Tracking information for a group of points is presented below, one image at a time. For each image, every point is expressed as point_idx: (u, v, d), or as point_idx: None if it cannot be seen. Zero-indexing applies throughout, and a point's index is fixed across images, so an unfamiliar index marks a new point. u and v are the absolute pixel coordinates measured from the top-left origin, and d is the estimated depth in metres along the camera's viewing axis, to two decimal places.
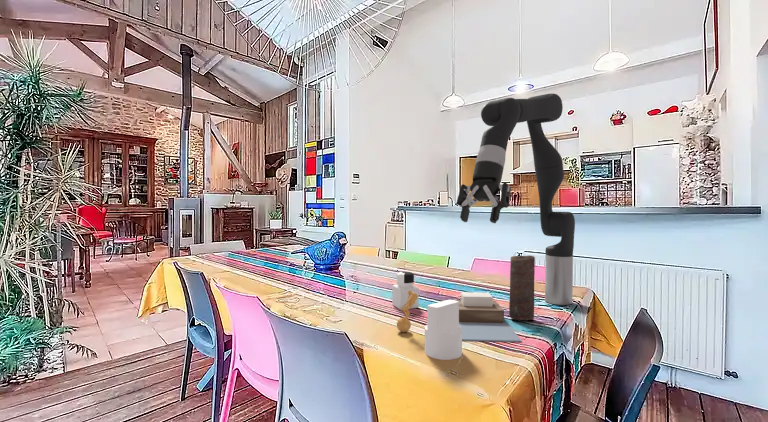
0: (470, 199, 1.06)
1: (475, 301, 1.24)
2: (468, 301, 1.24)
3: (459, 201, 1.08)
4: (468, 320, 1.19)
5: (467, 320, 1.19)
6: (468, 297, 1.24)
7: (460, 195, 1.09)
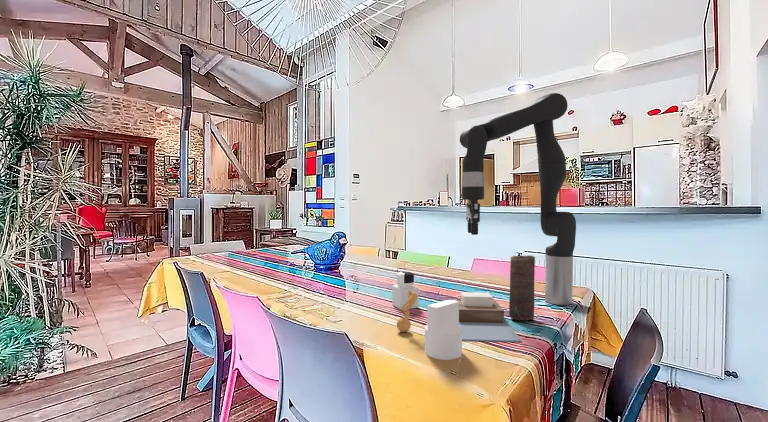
0: (468, 216, 1.38)
1: (475, 301, 1.24)
2: (468, 301, 1.24)
3: (466, 217, 1.41)
4: (468, 320, 1.19)
5: (467, 320, 1.19)
6: (468, 297, 1.24)
7: None
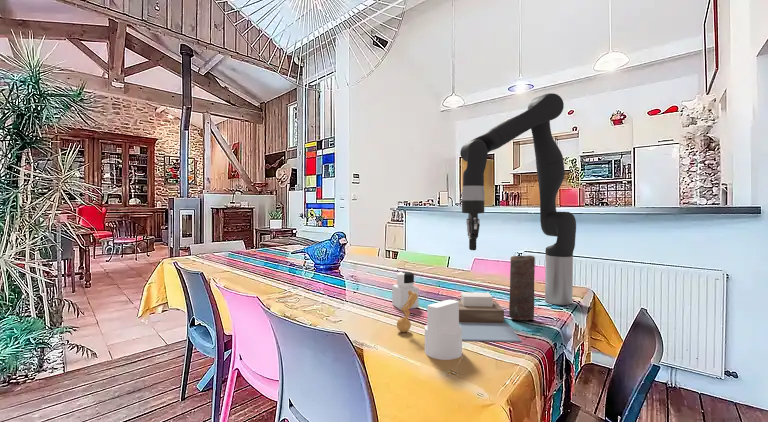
0: None
1: (475, 301, 1.24)
2: (468, 301, 1.24)
3: (468, 234, 1.37)
4: (468, 320, 1.19)
5: (467, 320, 1.19)
6: (468, 297, 1.24)
7: None
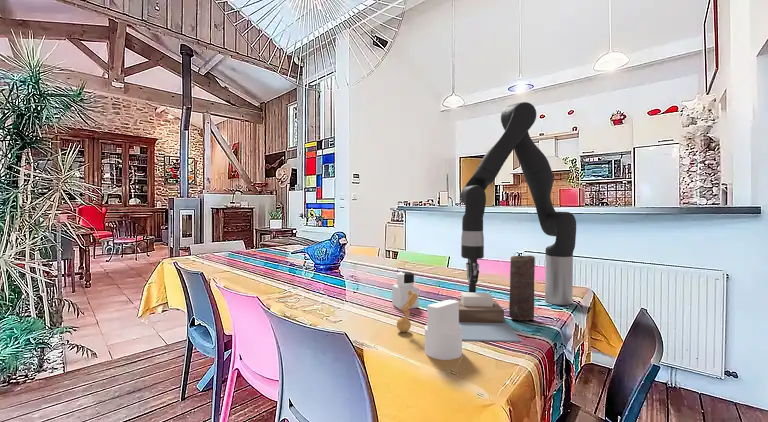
0: None
1: (475, 301, 1.24)
2: (468, 301, 1.24)
3: (467, 277, 1.38)
4: (468, 320, 1.19)
5: (467, 320, 1.19)
6: (468, 297, 1.24)
7: None
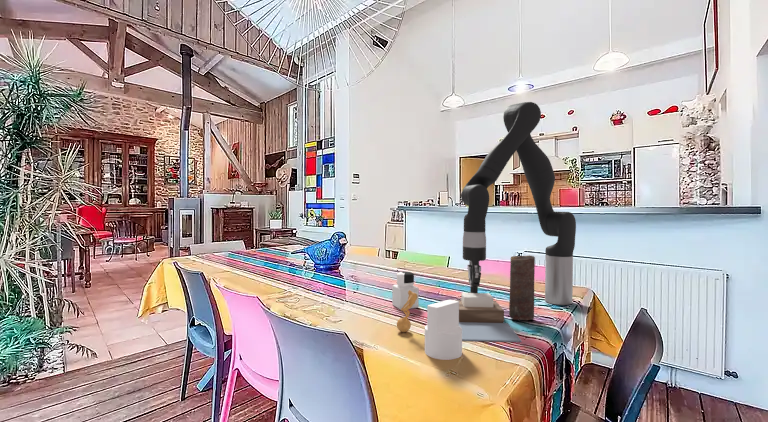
0: None
1: (476, 302, 1.23)
2: (469, 302, 1.23)
3: (469, 280, 1.33)
4: (468, 320, 1.19)
5: (467, 320, 1.19)
6: (469, 298, 1.23)
7: None
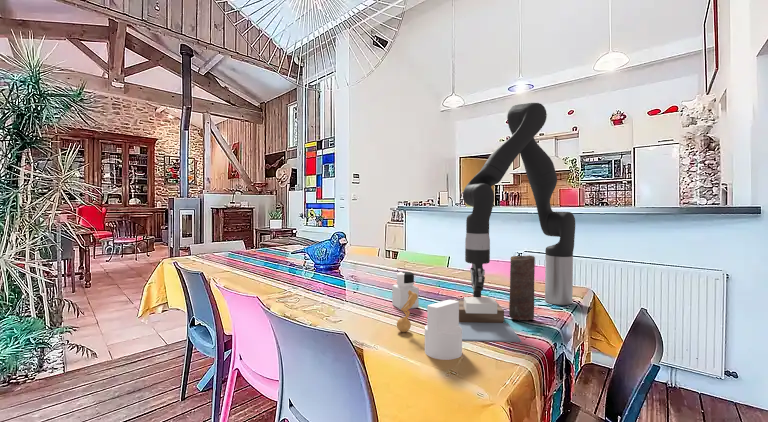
0: None
1: (478, 308, 1.16)
2: (471, 308, 1.16)
3: (472, 284, 1.26)
4: (468, 320, 1.19)
5: (467, 320, 1.19)
6: (471, 304, 1.16)
7: None
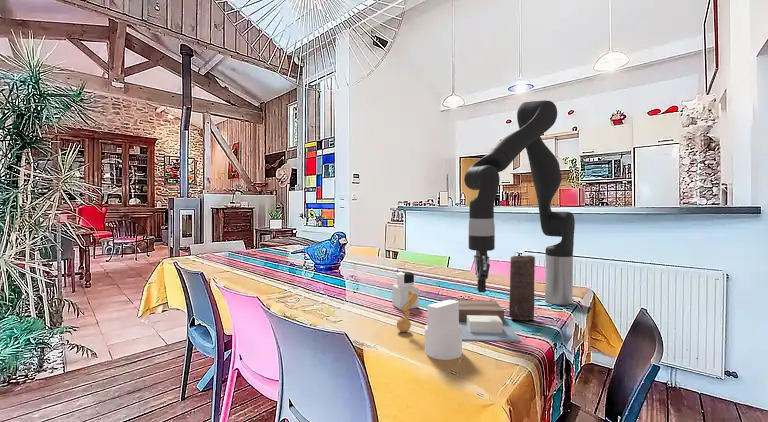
0: None
1: None
2: None
3: (476, 272, 1.19)
4: None
5: None
6: None
7: None
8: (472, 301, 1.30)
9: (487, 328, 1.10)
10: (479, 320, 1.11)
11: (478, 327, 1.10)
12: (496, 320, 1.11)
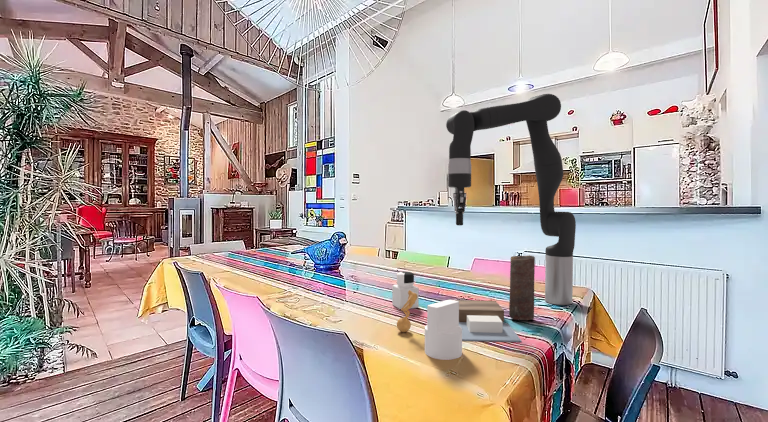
0: None
1: None
2: None
3: (455, 209, 1.33)
4: None
5: None
6: None
7: None
8: (472, 301, 1.30)
9: (487, 328, 1.10)
10: (479, 320, 1.11)
11: (478, 327, 1.10)
12: (496, 320, 1.11)
